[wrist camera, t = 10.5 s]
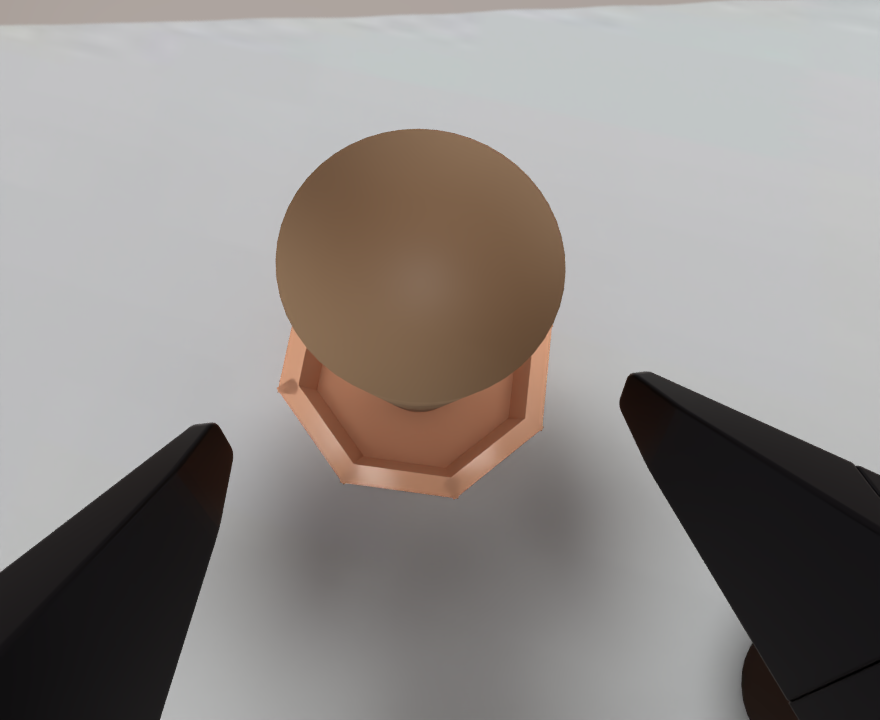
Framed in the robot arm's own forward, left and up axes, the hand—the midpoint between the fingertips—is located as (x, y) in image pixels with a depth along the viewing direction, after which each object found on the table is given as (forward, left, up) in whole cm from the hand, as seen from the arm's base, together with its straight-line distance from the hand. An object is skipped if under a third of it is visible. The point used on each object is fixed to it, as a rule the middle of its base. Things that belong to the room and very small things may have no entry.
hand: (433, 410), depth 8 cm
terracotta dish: (+2, +1, -11) cm, 12 cm away
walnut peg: (+2, +1, -11) cm, 11 cm away
